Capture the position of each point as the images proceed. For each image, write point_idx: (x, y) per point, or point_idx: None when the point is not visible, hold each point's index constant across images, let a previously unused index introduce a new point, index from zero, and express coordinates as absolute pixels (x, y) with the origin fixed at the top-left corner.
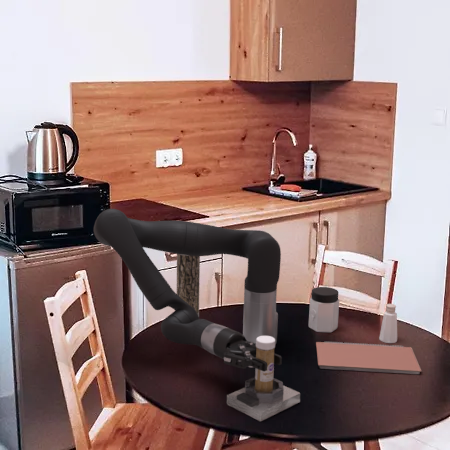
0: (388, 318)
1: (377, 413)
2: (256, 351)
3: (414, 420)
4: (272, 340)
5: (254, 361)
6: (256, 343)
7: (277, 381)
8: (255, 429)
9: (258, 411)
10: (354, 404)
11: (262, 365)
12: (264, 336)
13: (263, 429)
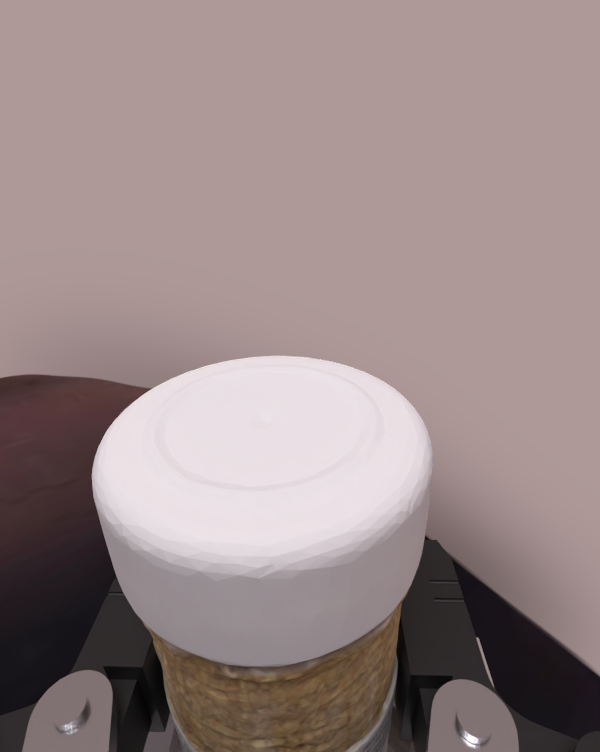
0: None
1: (91, 441)
2: (383, 652)
3: (90, 389)
4: (244, 365)
5: (469, 643)
6: (421, 532)
7: (162, 741)
8: (534, 635)
9: (483, 660)
10: (53, 501)
11: (426, 547)
12: (185, 473)
13: (494, 610)
